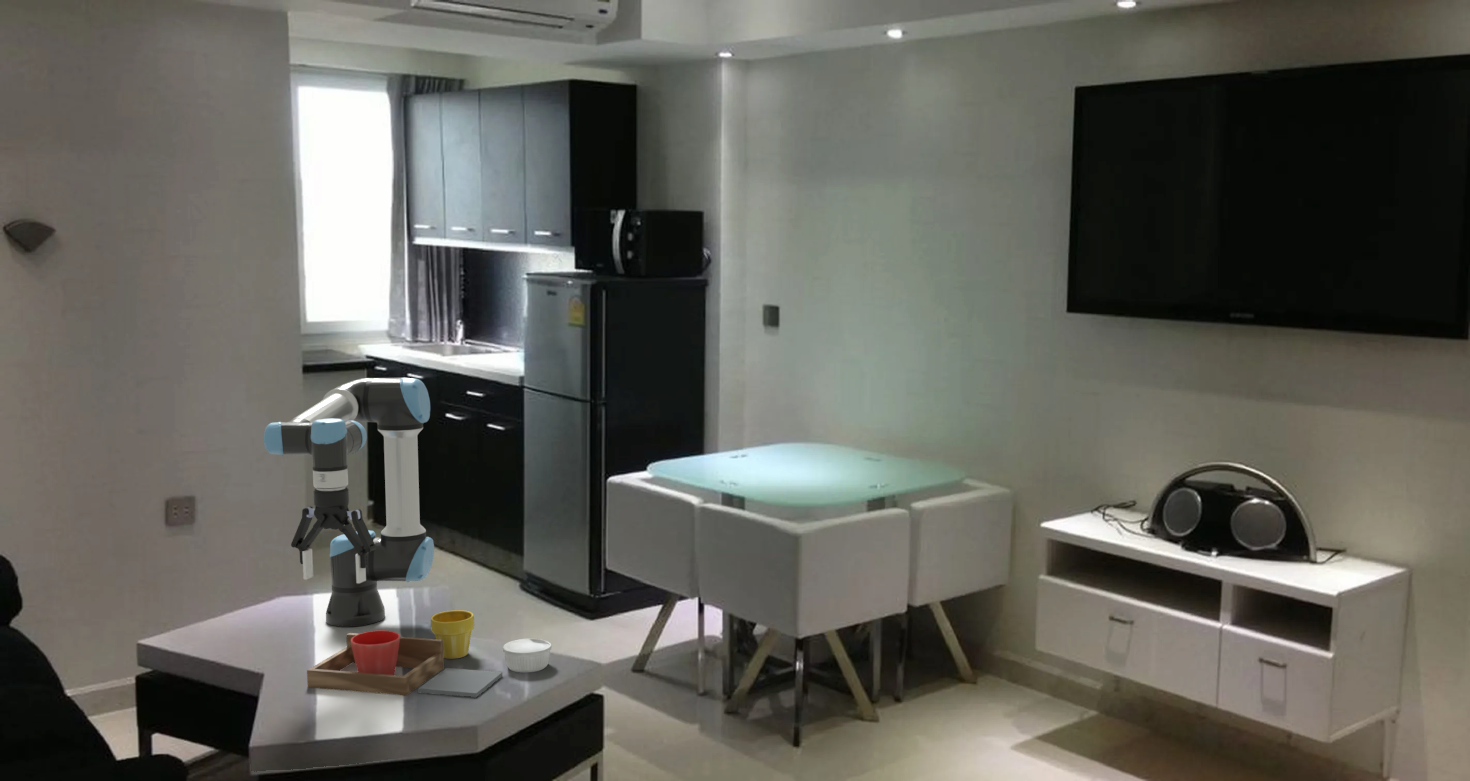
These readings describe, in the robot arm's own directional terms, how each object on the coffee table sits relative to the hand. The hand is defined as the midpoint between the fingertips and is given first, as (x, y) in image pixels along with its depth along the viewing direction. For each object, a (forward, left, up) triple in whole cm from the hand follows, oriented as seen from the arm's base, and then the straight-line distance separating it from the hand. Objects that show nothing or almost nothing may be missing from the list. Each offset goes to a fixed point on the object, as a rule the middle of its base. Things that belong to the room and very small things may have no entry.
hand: (334, 580), depth 287 cm
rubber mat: (-4, +28, -24) cm, 37 cm away
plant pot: (-23, +17, -24) cm, 38 cm away
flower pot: (-4, +7, -24) cm, 25 cm away
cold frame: (-4, +7, -24) cm, 25 cm away
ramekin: (-19, +38, -24) cm, 49 cm away
